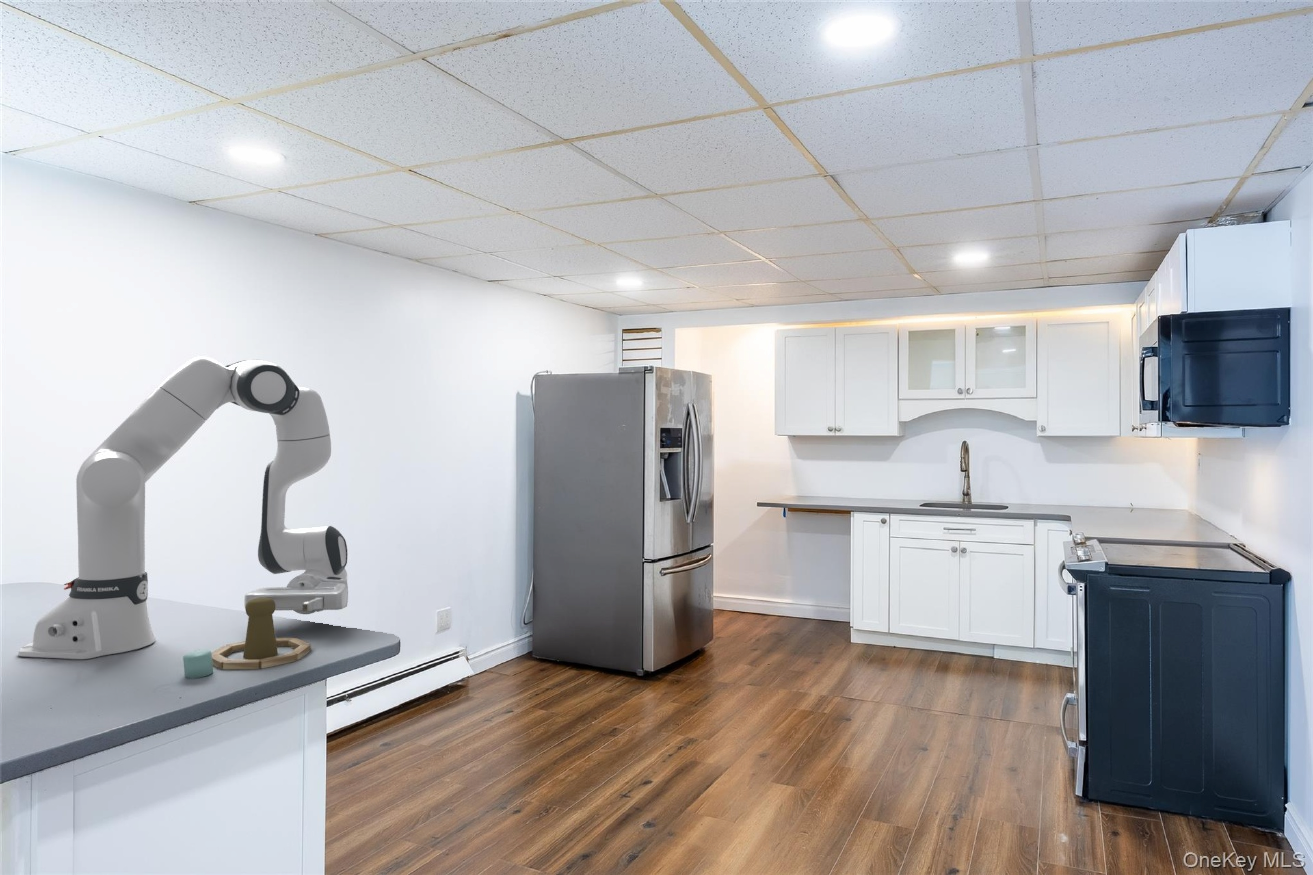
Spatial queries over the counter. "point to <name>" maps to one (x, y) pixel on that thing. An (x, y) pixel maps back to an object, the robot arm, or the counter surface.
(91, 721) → the counter surface
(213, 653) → the wooden segmented ring
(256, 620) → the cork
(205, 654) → the loose bead
